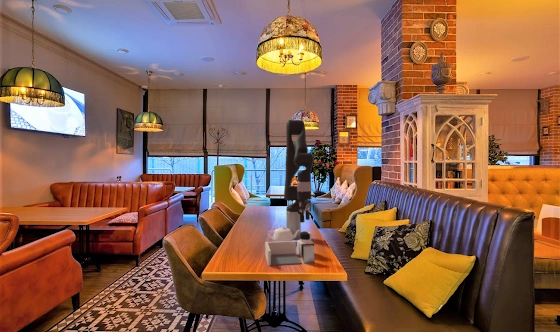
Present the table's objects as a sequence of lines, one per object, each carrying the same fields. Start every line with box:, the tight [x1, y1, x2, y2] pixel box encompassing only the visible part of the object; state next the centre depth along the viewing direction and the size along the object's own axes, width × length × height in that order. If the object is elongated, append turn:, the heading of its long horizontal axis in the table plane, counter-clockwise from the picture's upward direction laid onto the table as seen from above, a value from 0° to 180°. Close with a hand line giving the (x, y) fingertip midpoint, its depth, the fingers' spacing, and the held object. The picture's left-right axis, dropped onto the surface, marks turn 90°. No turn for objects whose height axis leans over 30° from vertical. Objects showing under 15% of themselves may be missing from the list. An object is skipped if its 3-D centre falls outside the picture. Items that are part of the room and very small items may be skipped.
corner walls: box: [264, 240, 297, 267], centre depth 149 cm, size 15×16×7 cm
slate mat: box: [271, 253, 302, 266], centre depth 148 cm, size 14×15×1 cm
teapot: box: [266, 225, 300, 242], centre depth 179 cm, size 20×12×10 cm, turn 89°
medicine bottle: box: [296, 231, 315, 257], centre depth 156 cm, size 7×7×12 cm
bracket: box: [300, 245, 315, 265], centre depth 147 cm, size 8×5×8 cm, turn 8°
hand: (305, 220), depth 156 cm, fingers open, 8 cm apart
